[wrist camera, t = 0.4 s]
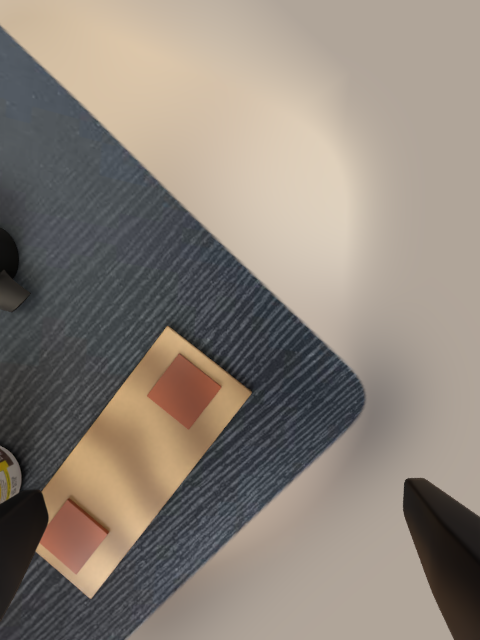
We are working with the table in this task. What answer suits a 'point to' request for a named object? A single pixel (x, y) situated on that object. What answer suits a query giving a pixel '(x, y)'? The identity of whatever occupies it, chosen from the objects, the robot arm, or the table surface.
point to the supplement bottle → (8, 475)
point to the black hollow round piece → (9, 275)
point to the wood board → (135, 458)
